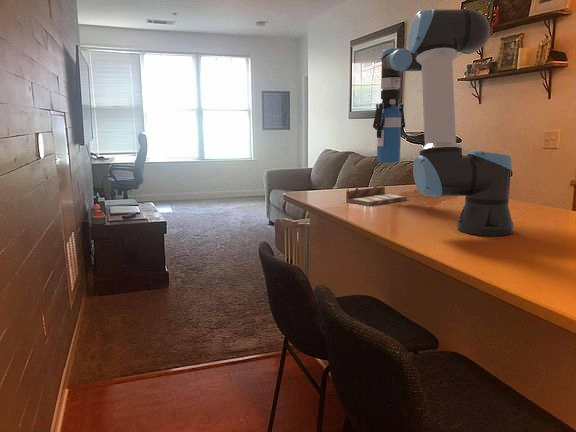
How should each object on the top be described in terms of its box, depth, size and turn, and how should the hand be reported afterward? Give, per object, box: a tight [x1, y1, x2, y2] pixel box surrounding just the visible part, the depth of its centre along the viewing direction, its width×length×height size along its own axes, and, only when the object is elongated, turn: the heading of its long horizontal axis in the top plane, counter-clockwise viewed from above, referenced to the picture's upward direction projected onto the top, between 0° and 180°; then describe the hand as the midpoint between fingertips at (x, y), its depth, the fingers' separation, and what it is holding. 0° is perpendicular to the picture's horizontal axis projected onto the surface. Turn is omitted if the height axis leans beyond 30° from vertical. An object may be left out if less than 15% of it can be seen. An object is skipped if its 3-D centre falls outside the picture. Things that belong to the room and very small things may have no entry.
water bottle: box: [376, 99, 402, 163], centre depth 186 cm, size 9×9×25 cm
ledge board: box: [345, 185, 408, 207], centre depth 189 cm, size 22×13×5 cm, turn 125°
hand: (388, 145), depth 187 cm, fingers closed on water bottle, 9 cm apart
